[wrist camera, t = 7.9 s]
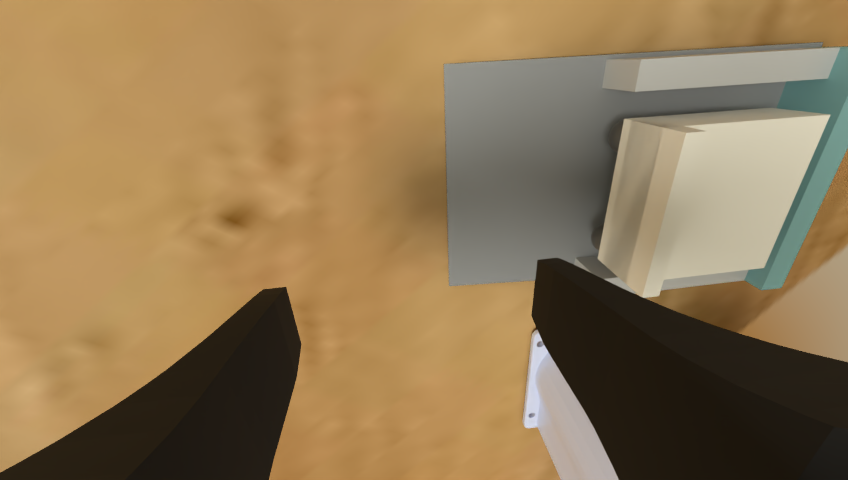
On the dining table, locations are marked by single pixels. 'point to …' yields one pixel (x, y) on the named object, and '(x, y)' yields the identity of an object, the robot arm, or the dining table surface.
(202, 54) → the dining table surface
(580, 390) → the robot arm
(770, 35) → the dining table surface
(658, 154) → the cream notched block
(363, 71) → the dining table surface
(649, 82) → the dock
